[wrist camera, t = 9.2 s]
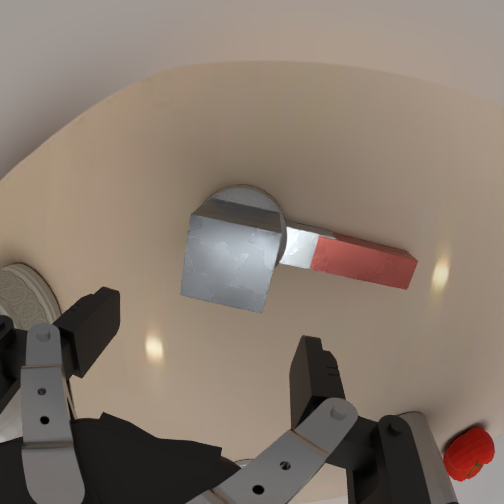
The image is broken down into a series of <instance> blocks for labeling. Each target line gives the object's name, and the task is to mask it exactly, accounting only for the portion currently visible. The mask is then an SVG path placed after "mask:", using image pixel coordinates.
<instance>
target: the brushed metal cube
mask: <svg viewBox="0 0 504 504" xmlns="http://www.w3.org/2000/svg"><path fill="white" fill-rule="evenodd" d="M281 237H282V228H281V220H280V212H275V211H271V210H266V209H262V208H257V207H252V206H248V205H243V204H238V203H234V202H229V201H224V200H219V199H214V198H210V199H209V200H208V201H206V202H205V203H204V204H203V205H202V206H200V207H199V208H198V209H197V210H195V211H194V212H193V213H192V214H191V217H190V224H189V230H188V237H187V244H186V252H185V259H184V267H183V275H182V284H181V292H180V295H183V296H187V297H191V298H195V299H199V300H203V301H208V302H212V303H216V304H221V305H225V306H230V307H234V308H239V309H243V310H248V311H253V312H258V313H262V311H263V307H264V303H265V299H266V296H267V292H268V288H269V284H270V280H271V276H272V272H273V268H274V265H275V261H276V257H277V253H278V249H279V245H280V241H281Z"/></svg>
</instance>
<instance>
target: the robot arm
mask: <svg viewBox="0 0 504 504" xmlns="http://www.w3.org/2000/svg"><path fill="white" fill-rule="evenodd" d="M119 326H120V293H119V291H117V290H113V289H110V288H107V287H101V288H100V289H99V290H98V291H97V292H96V293H95V294H89V295H87V296H84V297H82V298H80V299H79V300H78V301H77V302H76V303H75V304H74V305H72V306H71V307H70V308H69V309H68V310H67V311H65V312H64V313H63V314H62V315H61V316H60V317H59V318H58V319H57V320H55V321H54V322H53V323H52V324H49V323H40V324H36V325H34V326H33V327H31V328H30V329H29V331H27V330H21V329H16V328H15V327H14V323H13V320H12V318H10V317H9V316H7V315H0V414H1V413H2V412H3V410H4V409H5V407H6V406H7V405H8V403H9V402H10V401H11V399H12V398H13V397H14V395H15V394H16V393H17V391H18V390H19V389H20V387H21V416H22V430H23V436H22V437H19V438H15V439H12V440H8V441H5V442H1V443H0V504H288V503H289V502H290V501H291V500H292V499H293V498H294V497H295V496H296V495H297V494H298V493H299V492H300V491H301V490H302V488H303V487H304V486H305V485H306V484H307V483H308V482H309V481H310V480H311V479H312V478H313V476H314V475H315V474H316V473H317V472H318V471H319V470H320V469H321V467H322V466H323V465H324V464H325V463H328V464H331V465H335V466H338V467H341V468H345V469H346V475H347V489H348V504H459V503H458V500H457V498H456V494H455V491H454V489H453V486H452V483H451V481H450V478H449V475H448V472H447V470H446V467H445V464H444V462H443V459H442V457H441V454H440V452H439V449H438V447H437V444H436V442H435V439H434V437H433V434H432V432H431V430H430V428H429V425H428V423H427V421H426V418H425V416H424V415H423V414H421V413H417V412H412V413H406V414H402V415H399V416H395V415H386V416H384V417H382V418H381V419H380V420H379V422H375V421H372V420H369V419H365V418H363V417H360V416H358V413H357V410H356V408H355V407H354V406H353V405H352V404H351V403H350V402H348V401H346V398H345V394H344V390H343V386H342V382H341V377H340V373H339V370H338V365H337V361H336V359H335V358H334V356H333V355H332V354H331V352H330V351H325V350H323V348H322V343H321V339H320V338H317V337H311V336H305V335H303V336H302V337H301V339H300V342H299V345H298V347H297V350H296V353H295V356H294V358H293V361H292V364H291V368H290V374H289V379H290V406H291V429H289V430H288V431H287V432H285V433H284V434H283V435H282V436H281V437H280V438H279V439H277V440H276V441H275V442H274V443H273V444H272V445H270V446H269V447H268V448H267V449H266V450H264V451H263V452H262V453H261V454H259V455H258V456H257V457H256V458H255V459H253V460H252V461H251V462H249V463H248V464H247V465H246V466H244V467H243V468H241V467H240V466H239V465H237V464H236V463H234V462H233V461H231V460H229V459H227V458H225V457H223V456H221V451H222V448H221V447H217V446H212V445H207V444H203V443H199V442H194V441H188V440H172V439H161V438H156V437H154V436H153V435H151V434H149V433H147V432H146V431H144V430H142V429H140V428H139V427H137V426H135V425H134V424H132V423H131V422H128V421H125V420H123V419H120V418H117V417H115V416H112V415H110V414H107V413H105V412H103V413H102V415H101V417H100V418H99V419H94V418H81V419H77V415H76V411H75V406H74V401H73V395H72V389H71V383H70V379H69V378H70V377H71V376H72V375H75V376H77V377H80V378H83V377H84V375H85V374H86V373H87V371H88V370H89V369H90V367H91V366H92V365H93V363H94V362H95V361H96V359H97V358H98V357H99V355H100V354H101V353H102V351H103V350H104V349H105V348H106V346H107V345H108V344H109V342H110V341H111V340H112V339H113V337H114V336H115V335H116V333H117V332H118V329H119Z"/></svg>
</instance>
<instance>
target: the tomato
mask: <svg viewBox="0 0 504 504" xmlns="http://www.w3.org/2000/svg"><path fill="white" fill-rule="evenodd" d="M494 450H495V449H494V443H493V440H492V438H491V437H490V435H489V434H488V433H487V432H486V431H485V430H484V429H482V428H473V429H470V430H469V431H467V432H466V433H465V434H463V435H461V436H459V437H458V438H457V439H455V440H454V442H453V443H452V444H451V445H450V446H449V448H448V449H447V451H446V452H445V454H444V457H443V462H444V464H445V467H446V470H447V472H448V474H449V475H450V476H451V477H452V478H453V479H454V480H457V481H461V482H462V481H463V480H465V479H466V478H467V479H470V478H472V477H474V476H475V475H476V474H477V473H478V472H479V471H480V470H481V468H482V466H483V465H484V464H488V463H489V462H491V461H492V459H493V457H494V453H495V451H494Z"/></svg>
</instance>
